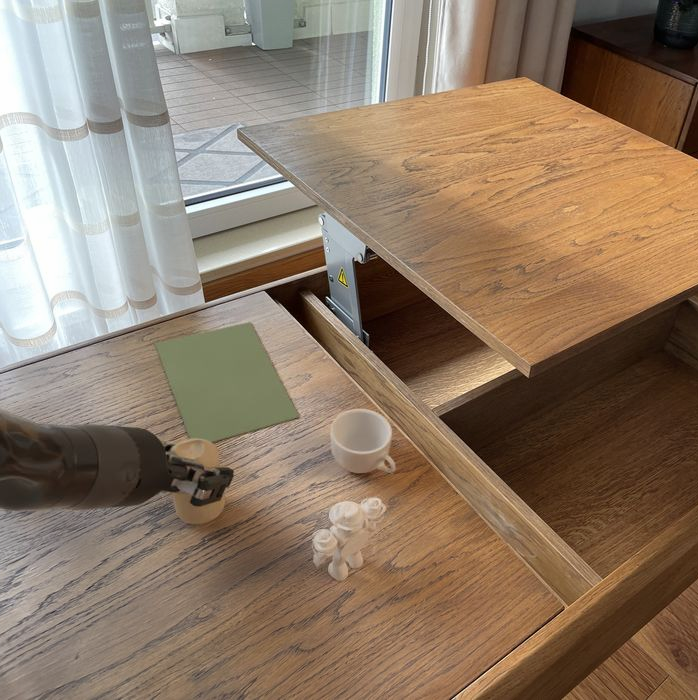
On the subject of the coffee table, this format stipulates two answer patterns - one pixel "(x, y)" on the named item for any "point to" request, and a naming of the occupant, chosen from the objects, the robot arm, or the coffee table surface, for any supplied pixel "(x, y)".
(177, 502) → the candle
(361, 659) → the coffee table surface
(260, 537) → the coffee table surface
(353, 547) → the hat wearing toy figure
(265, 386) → the desk mat
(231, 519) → the coffee table surface
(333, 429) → the teacup
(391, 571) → the coffee table surface
